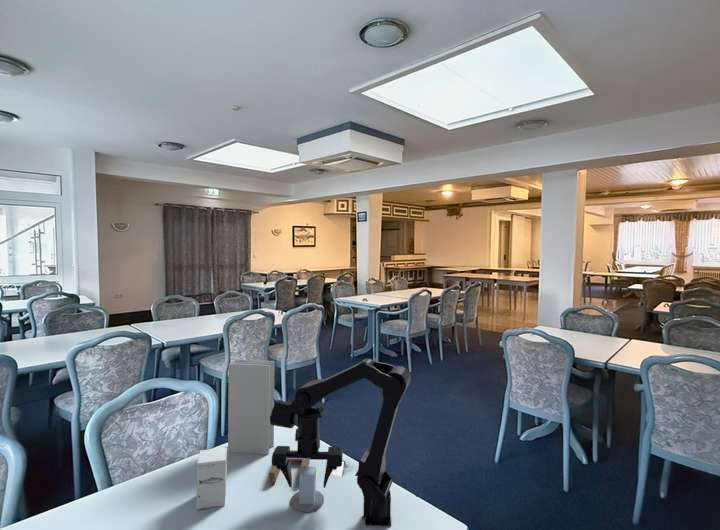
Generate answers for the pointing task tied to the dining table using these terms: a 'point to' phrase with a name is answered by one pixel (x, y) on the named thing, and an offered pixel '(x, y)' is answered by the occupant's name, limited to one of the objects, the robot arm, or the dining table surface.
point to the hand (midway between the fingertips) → (307, 486)
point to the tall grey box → (250, 406)
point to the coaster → (307, 507)
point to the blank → (307, 485)
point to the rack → (275, 471)
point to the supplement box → (211, 478)
